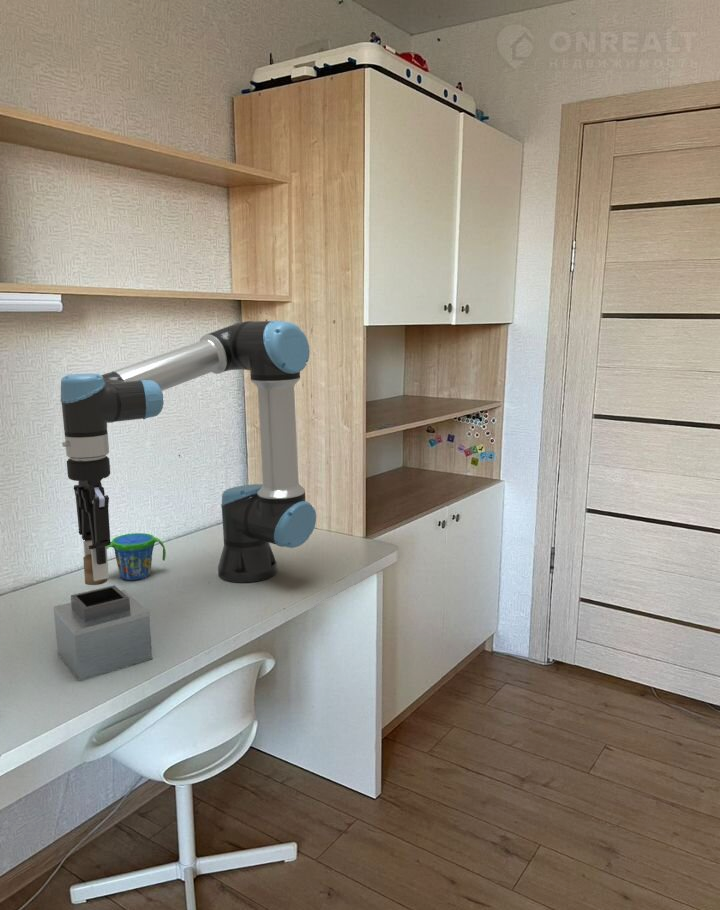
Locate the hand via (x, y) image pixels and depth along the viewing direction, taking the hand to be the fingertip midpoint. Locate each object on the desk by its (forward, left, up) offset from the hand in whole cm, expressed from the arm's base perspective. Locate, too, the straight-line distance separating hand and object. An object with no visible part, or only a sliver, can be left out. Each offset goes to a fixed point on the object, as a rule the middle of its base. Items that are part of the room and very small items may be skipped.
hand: (97, 575), depth 138 cm
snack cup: (-21, -40, -17) cm, 48 cm away
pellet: (0, 0, -1) cm, 1 cm away
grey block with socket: (0, 0, -17) cm, 17 cm away
